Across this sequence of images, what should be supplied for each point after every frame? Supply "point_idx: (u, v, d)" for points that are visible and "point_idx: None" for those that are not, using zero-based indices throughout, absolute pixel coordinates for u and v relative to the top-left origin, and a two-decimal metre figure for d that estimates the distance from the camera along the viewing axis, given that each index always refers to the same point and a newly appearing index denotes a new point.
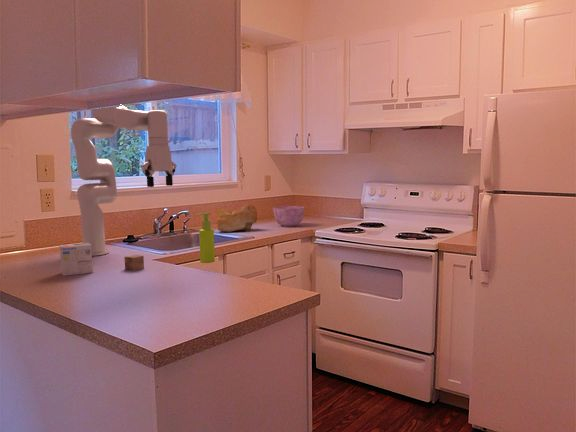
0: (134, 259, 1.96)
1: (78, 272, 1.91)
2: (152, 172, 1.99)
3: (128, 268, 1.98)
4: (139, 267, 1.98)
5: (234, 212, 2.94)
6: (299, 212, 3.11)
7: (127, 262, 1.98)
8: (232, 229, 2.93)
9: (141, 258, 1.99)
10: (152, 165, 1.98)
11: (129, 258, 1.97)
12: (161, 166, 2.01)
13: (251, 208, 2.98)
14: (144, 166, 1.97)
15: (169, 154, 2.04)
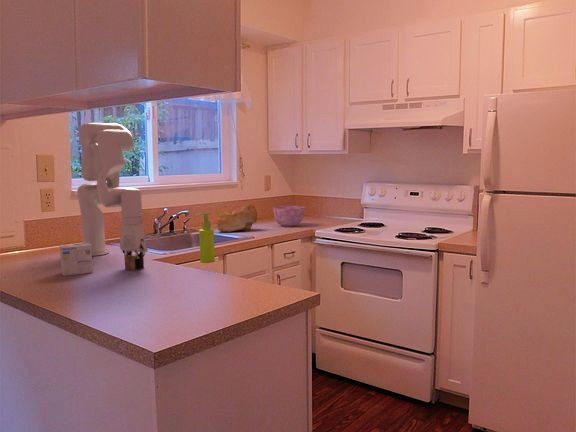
0: (134, 259, 1.96)
1: (78, 272, 1.91)
2: None
3: (128, 268, 1.98)
4: None
5: (234, 212, 2.94)
6: (299, 212, 3.11)
7: (127, 261, 1.98)
8: (232, 229, 2.93)
9: None
10: (145, 244, 1.97)
11: (129, 258, 1.97)
12: None
13: (251, 208, 2.98)
14: None
15: None
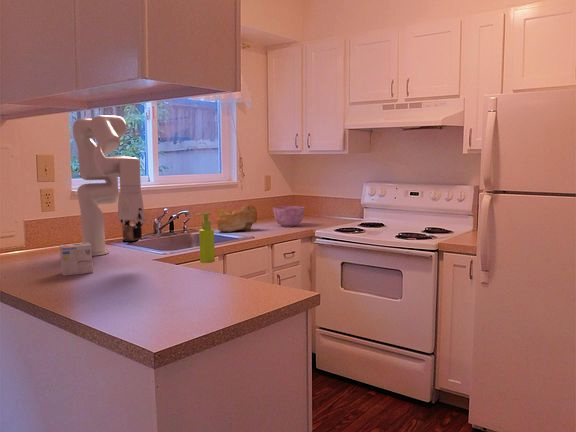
0: (132, 228, 1.95)
1: (78, 272, 1.91)
2: None
3: (126, 237, 1.97)
4: None
5: (234, 212, 2.94)
6: (299, 212, 3.11)
7: (125, 231, 1.97)
8: (232, 229, 2.93)
9: None
10: (143, 213, 1.96)
11: (127, 227, 1.96)
12: None
13: (251, 208, 2.98)
14: None
15: None
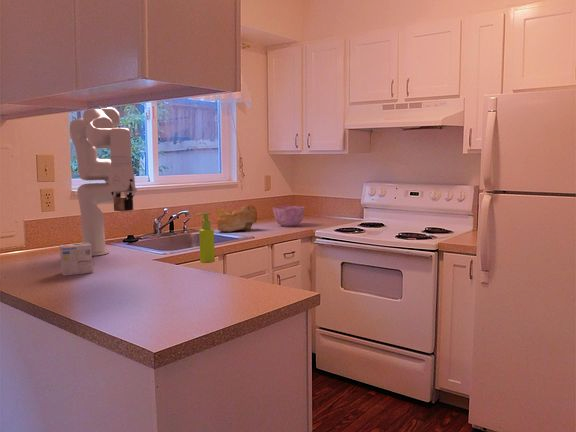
0: (123, 199, 1.93)
1: (78, 272, 1.91)
2: None
3: (117, 209, 1.94)
4: None
5: (234, 212, 2.94)
6: (299, 212, 3.11)
7: (116, 203, 1.94)
8: (232, 229, 2.93)
9: None
10: (134, 185, 1.94)
11: (118, 199, 1.93)
12: None
13: (251, 208, 2.98)
14: None
15: None
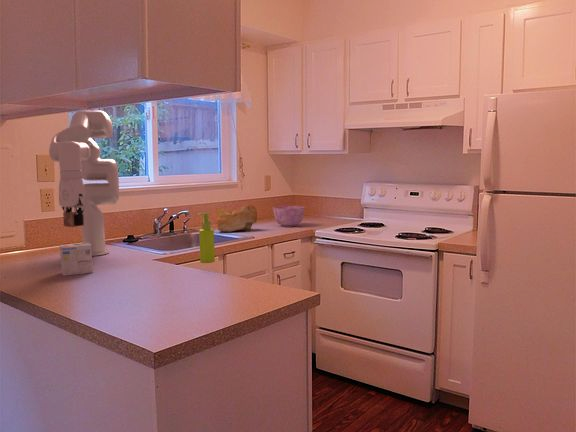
0: (72, 215, 1.88)
1: (78, 272, 1.91)
2: None
3: (66, 224, 1.90)
4: None
5: (234, 212, 2.94)
6: (299, 212, 3.11)
7: (66, 218, 1.90)
8: (232, 229, 2.93)
9: None
10: (84, 199, 1.89)
11: (67, 214, 1.89)
12: None
13: (251, 208, 2.98)
14: None
15: None
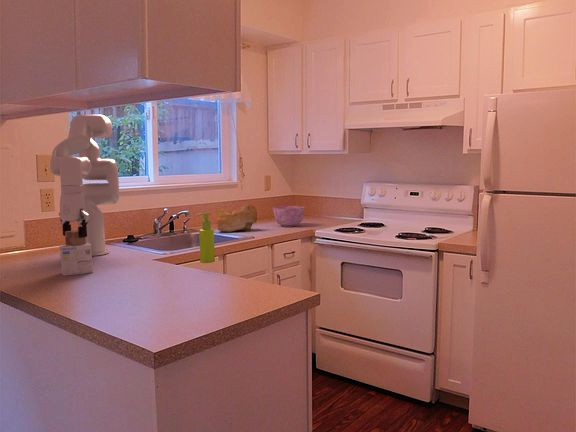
0: (74, 234, 1.89)
1: (78, 272, 1.91)
2: None
3: (68, 243, 1.91)
4: (80, 242, 1.91)
5: (234, 212, 2.94)
6: (299, 212, 3.11)
7: (67, 237, 1.90)
8: (232, 229, 2.93)
9: None
10: None
11: (69, 233, 1.90)
12: None
13: (251, 208, 2.98)
14: None
15: None
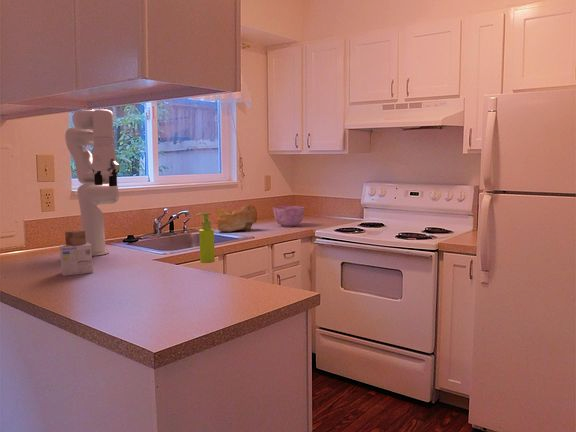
0: (74, 234, 1.89)
1: (78, 272, 1.91)
2: None
3: (68, 243, 1.91)
4: (80, 242, 1.91)
5: (234, 212, 2.94)
6: (299, 212, 3.11)
7: (67, 237, 1.90)
8: (232, 229, 2.93)
9: (82, 233, 1.92)
10: None
11: (69, 233, 1.90)
12: None
13: (251, 208, 2.98)
14: None
15: None
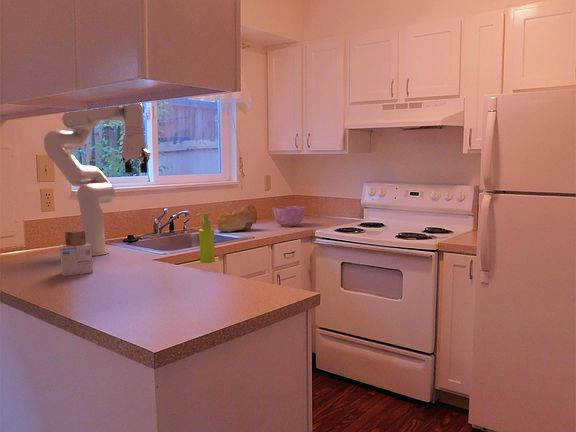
0: (74, 234, 1.89)
1: (78, 272, 1.91)
2: None
3: (68, 243, 1.91)
4: (80, 243, 1.91)
5: (234, 212, 2.94)
6: (299, 212, 3.11)
7: (67, 237, 1.90)
8: (232, 229, 2.93)
9: (82, 233, 1.92)
10: None
11: (69, 233, 1.90)
12: None
13: (251, 208, 2.98)
14: None
15: None
